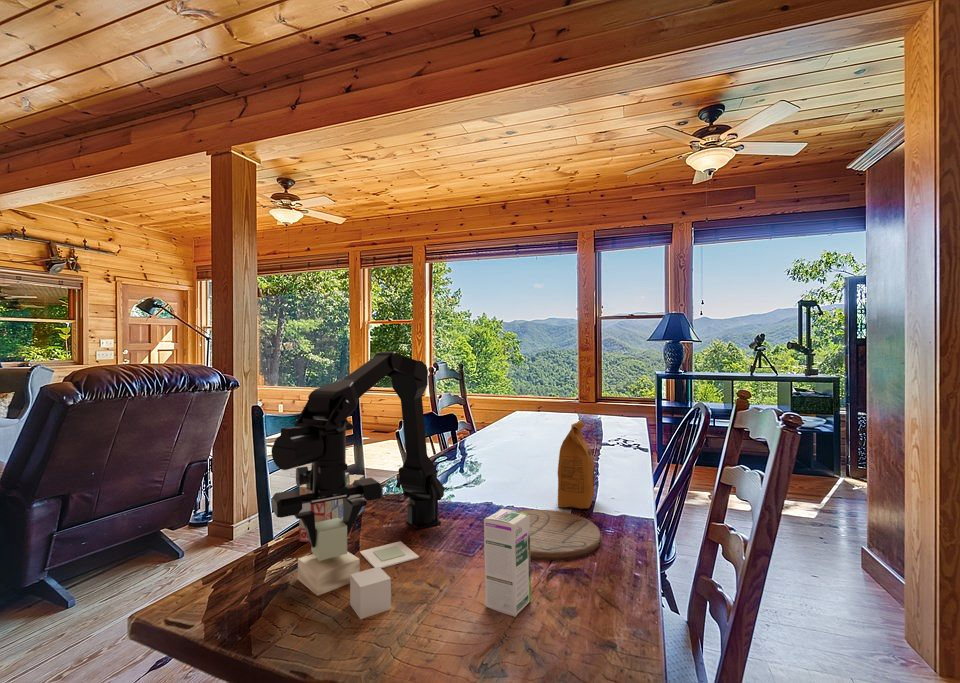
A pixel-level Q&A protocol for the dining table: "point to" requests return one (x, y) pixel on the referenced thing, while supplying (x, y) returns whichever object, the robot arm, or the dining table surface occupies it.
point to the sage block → (330, 539)
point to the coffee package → (575, 471)
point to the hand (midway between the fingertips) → (329, 543)
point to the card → (388, 555)
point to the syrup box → (507, 561)
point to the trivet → (560, 535)
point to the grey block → (370, 592)
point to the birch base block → (327, 572)
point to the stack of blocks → (326, 507)
